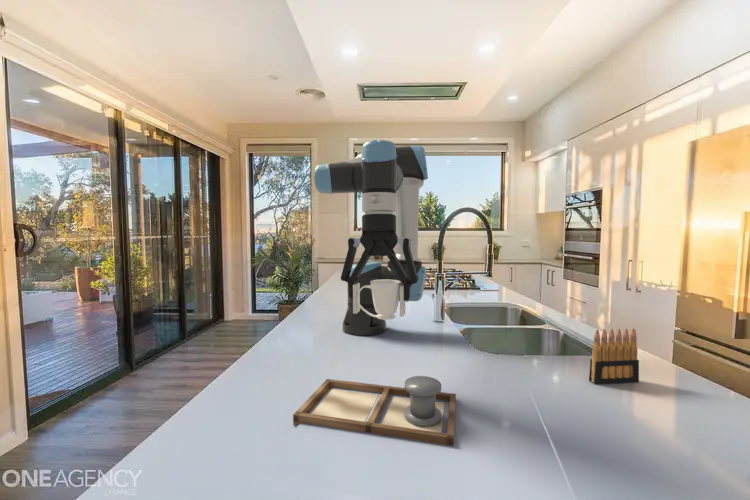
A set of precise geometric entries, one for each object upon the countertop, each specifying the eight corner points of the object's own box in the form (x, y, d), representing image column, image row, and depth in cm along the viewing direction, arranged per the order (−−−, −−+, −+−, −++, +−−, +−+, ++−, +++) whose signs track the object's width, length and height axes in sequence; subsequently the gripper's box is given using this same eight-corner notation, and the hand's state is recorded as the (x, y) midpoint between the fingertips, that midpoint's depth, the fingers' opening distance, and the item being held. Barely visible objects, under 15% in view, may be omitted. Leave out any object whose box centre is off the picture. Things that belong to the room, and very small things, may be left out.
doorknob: (407, 405, 64) (407, 374, 64) (442, 410, 62) (442, 378, 62) (401, 424, 58) (401, 389, 57) (439, 429, 56) (440, 393, 56)
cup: (400, 321, 72) (400, 284, 71) (354, 320, 73) (354, 283, 73) (402, 313, 79) (402, 279, 78) (359, 312, 80) (359, 278, 80)
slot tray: (327, 387, 73) (327, 378, 73) (455, 402, 66) (455, 393, 66) (293, 424, 59) (293, 414, 59) (453, 449, 52) (453, 438, 52)
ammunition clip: (594, 384, 74) (596, 330, 74) (588, 381, 76) (590, 328, 76) (639, 382, 76) (641, 329, 75) (632, 379, 78) (633, 327, 77)
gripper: (324, 213, 74) (325, 314, 75) (428, 211, 68) (428, 321, 69) (337, 215, 81) (337, 307, 82) (432, 213, 76) (431, 312, 77)
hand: (379, 313), depth 76 cm, fingers closed on cup, 10 cm apart
